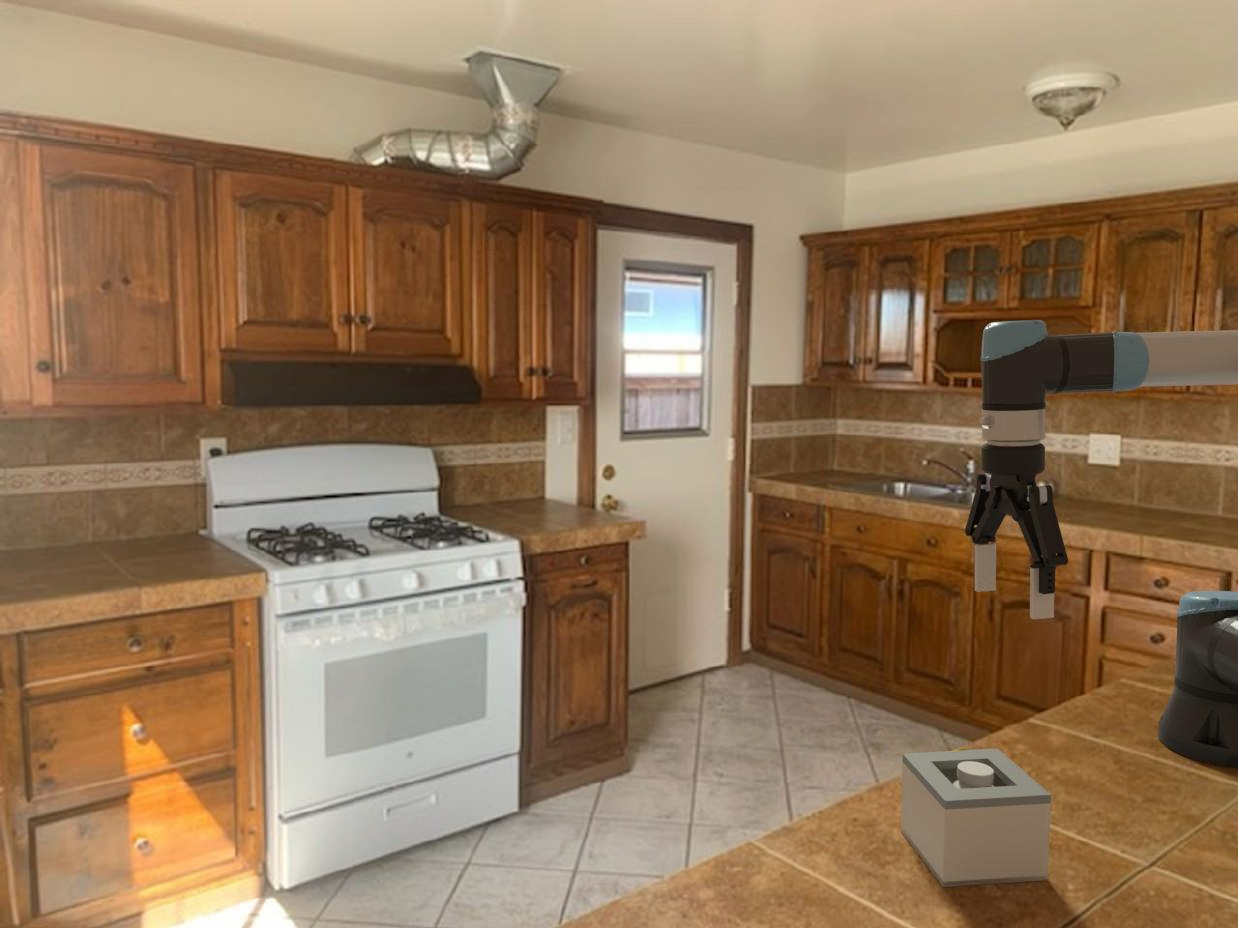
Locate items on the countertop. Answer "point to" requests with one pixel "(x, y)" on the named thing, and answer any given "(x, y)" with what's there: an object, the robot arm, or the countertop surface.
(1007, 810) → the drop box
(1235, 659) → the robot arm
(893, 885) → the countertop surface
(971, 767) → the pill bottle
